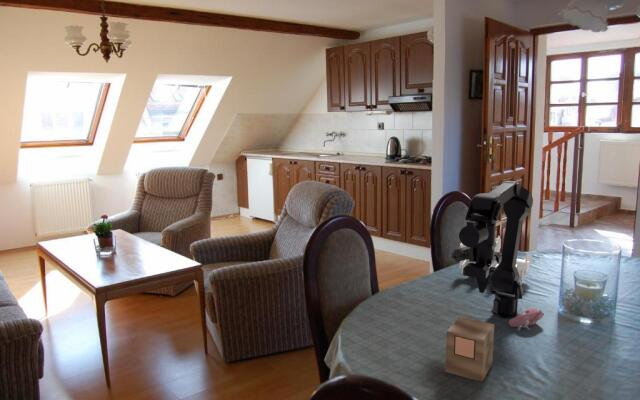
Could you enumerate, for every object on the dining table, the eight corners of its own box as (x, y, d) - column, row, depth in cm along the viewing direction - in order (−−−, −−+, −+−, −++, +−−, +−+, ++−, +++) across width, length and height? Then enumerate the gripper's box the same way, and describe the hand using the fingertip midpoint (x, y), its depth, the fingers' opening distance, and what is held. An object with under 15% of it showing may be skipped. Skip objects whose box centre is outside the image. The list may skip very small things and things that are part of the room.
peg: (467, 337, 130) (467, 321, 129) (484, 341, 128) (485, 325, 127) (454, 353, 122) (455, 336, 121) (473, 358, 119) (474, 341, 119)
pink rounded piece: (517, 335, 147) (527, 319, 143) (506, 323, 150) (516, 307, 146) (539, 327, 152) (549, 312, 148) (528, 316, 155) (538, 301, 151)
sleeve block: (457, 355, 132) (459, 316, 130) (492, 364, 127) (494, 324, 125) (445, 371, 124) (446, 331, 122) (481, 381, 119) (483, 339, 117)
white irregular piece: (521, 300, 180) (455, 284, 194) (534, 269, 191) (471, 255, 205) (520, 263, 170) (450, 248, 185) (534, 232, 181) (467, 220, 196)
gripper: (465, 229, 151) (463, 278, 154) (445, 243, 135) (443, 297, 138) (503, 233, 145) (500, 284, 148) (486, 249, 129) (483, 305, 132)
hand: (481, 292), depth 142 cm, fingers closed
